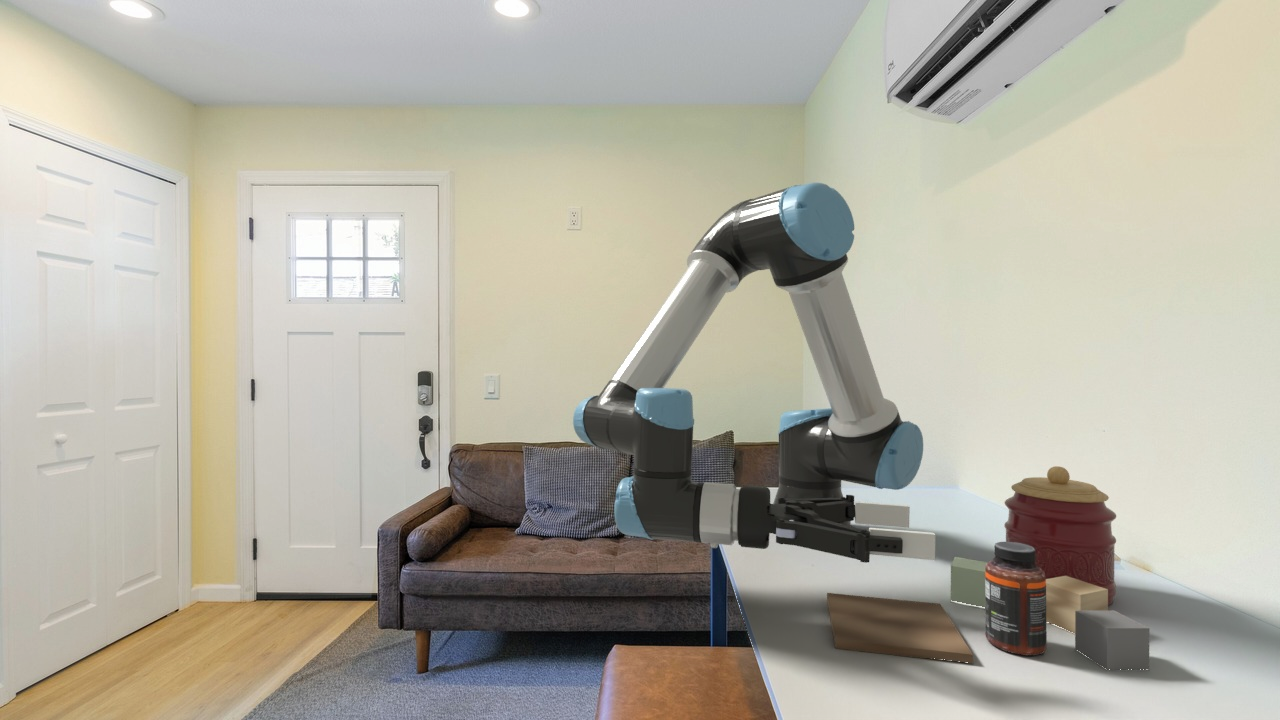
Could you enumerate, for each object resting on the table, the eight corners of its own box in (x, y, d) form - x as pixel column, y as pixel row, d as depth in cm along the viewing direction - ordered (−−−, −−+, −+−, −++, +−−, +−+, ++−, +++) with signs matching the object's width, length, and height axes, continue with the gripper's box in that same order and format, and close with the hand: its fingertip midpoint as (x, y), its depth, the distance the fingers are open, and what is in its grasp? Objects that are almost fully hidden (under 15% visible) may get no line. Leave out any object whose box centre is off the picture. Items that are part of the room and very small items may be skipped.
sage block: (954, 592, 84) (954, 556, 84) (991, 599, 82) (991, 563, 82) (950, 602, 81) (950, 565, 81) (989, 610, 78) (989, 572, 78)
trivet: (827, 600, 81) (827, 592, 81) (940, 611, 78) (940, 603, 78) (835, 648, 67) (835, 639, 67) (972, 664, 64) (972, 654, 64)
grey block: (1075, 650, 68) (1075, 610, 68) (1114, 650, 68) (1114, 610, 68) (1107, 671, 63) (1107, 628, 63) (1149, 671, 63) (1149, 628, 63)
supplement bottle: (1050, 644, 69) (1051, 545, 69) (1041, 664, 64) (1042, 558, 64) (991, 629, 73) (991, 535, 73) (979, 646, 68) (979, 546, 68)
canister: (1039, 609, 79) (1040, 474, 79) (985, 574, 92) (986, 458, 92) (1141, 611, 78) (1142, 475, 78) (1072, 575, 91) (1073, 459, 91)
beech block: (1038, 620, 76) (1038, 580, 76) (1065, 614, 77) (1065, 575, 77) (1080, 637, 71) (1080, 594, 71) (1107, 630, 73) (1107, 589, 73)
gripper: (743, 521, 88) (900, 534, 82) (727, 578, 63) (947, 601, 58) (744, 469, 88) (901, 479, 83) (729, 507, 63) (949, 524, 58)
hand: (920, 530), depth 70 cm, fingers open, 13 cm apart
